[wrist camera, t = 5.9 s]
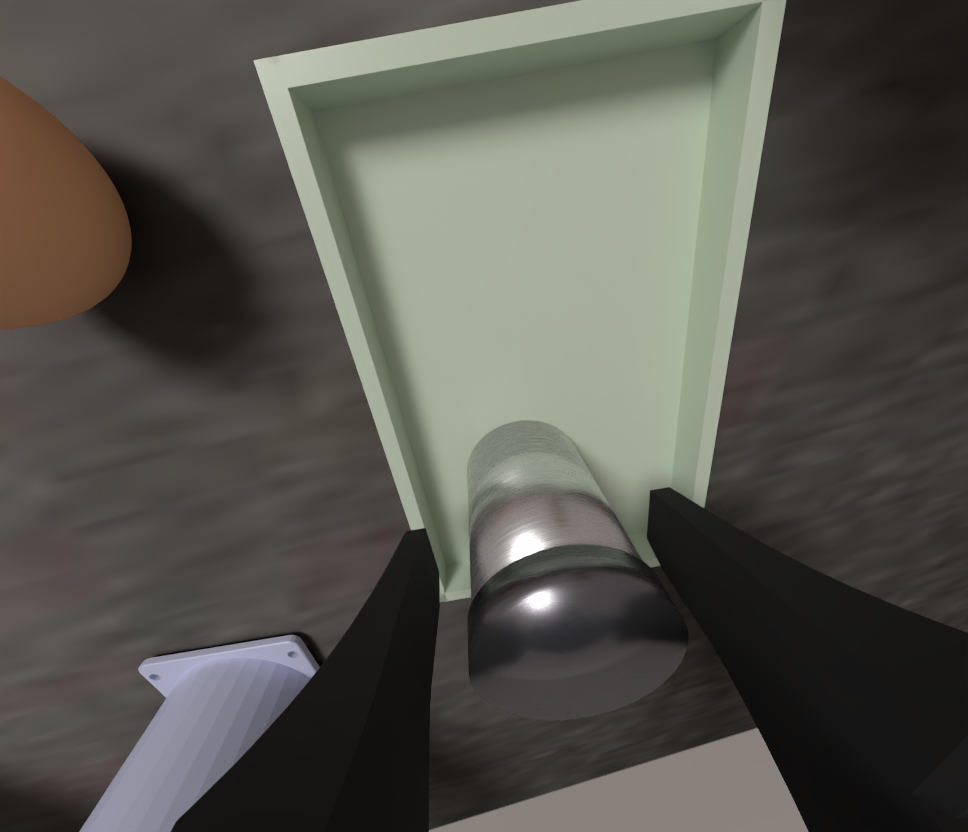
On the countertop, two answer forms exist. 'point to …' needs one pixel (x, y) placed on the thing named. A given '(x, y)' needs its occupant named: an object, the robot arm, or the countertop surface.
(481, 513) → the shaker
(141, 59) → the countertop surface
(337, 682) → the robot arm
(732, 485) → the countertop surface
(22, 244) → the brown egg
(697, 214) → the tray
